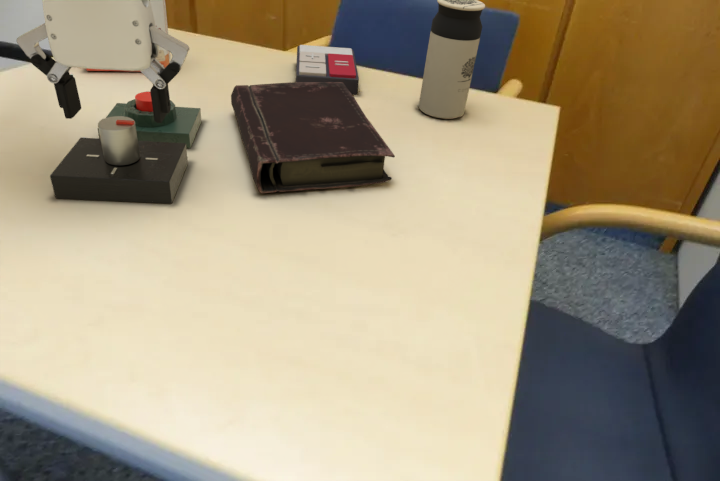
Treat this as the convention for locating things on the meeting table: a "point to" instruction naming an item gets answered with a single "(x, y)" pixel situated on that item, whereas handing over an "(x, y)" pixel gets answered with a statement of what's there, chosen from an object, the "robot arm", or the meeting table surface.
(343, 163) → the diary
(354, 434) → the meeting table surface
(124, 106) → the button base
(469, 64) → the travel mug
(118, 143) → the hob knob
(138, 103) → the button
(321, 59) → the calculator
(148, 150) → the knob base
